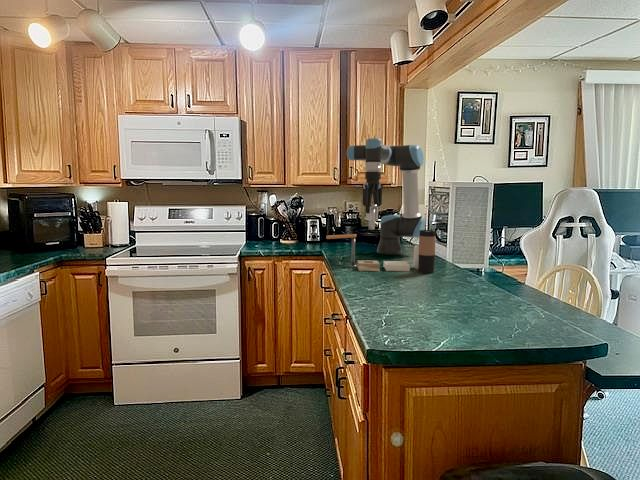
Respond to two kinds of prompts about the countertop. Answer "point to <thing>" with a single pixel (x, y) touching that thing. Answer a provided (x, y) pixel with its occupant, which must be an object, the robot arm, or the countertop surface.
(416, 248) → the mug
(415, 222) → the robot arm
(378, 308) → the countertop surface
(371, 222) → the pin
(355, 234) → the bar
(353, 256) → the keeper post
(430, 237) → the travel mug
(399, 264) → the tray
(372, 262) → the block
